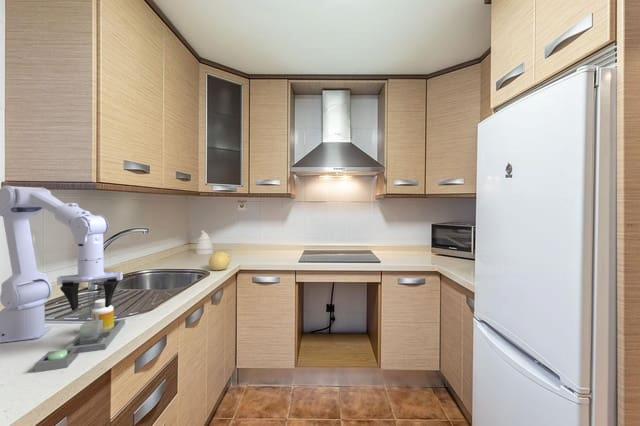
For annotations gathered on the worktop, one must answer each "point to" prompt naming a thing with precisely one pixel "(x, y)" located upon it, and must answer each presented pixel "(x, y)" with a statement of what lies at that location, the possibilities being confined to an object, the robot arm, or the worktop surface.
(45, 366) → the grey square tray
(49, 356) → the button
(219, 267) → the yellow round fruit
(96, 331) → the block
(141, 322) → the worktop surface
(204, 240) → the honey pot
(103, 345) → the pallet frame
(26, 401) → the worktop surface
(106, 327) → the supplement bottle
